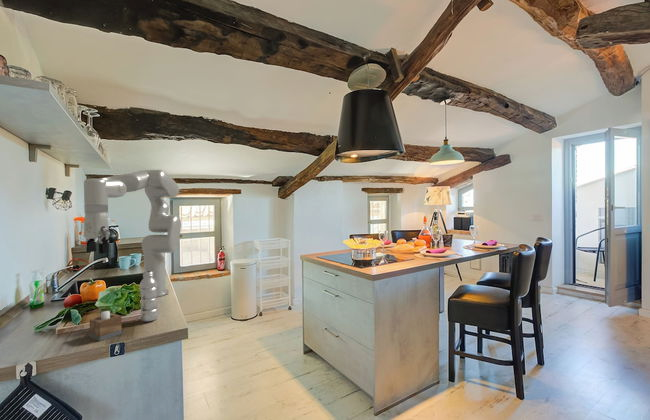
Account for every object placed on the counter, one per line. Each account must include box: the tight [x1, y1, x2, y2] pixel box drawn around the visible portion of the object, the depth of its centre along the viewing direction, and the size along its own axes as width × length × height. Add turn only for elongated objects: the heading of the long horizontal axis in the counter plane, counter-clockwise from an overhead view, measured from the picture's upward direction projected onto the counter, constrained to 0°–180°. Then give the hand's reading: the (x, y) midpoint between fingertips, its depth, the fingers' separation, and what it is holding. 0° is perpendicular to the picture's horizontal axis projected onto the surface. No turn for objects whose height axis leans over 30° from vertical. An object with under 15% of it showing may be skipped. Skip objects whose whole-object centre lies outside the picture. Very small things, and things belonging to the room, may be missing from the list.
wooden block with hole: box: [89, 312, 123, 337], centre depth 109 cm, size 7×7×5 cm
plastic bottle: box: [138, 271, 159, 323], centre depth 122 cm, size 6×7×20 cm
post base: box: [89, 310, 123, 342], centre depth 109 cm, size 7×7×8 cm
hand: (97, 252), depth 121 cm, fingers open, 9 cm apart
